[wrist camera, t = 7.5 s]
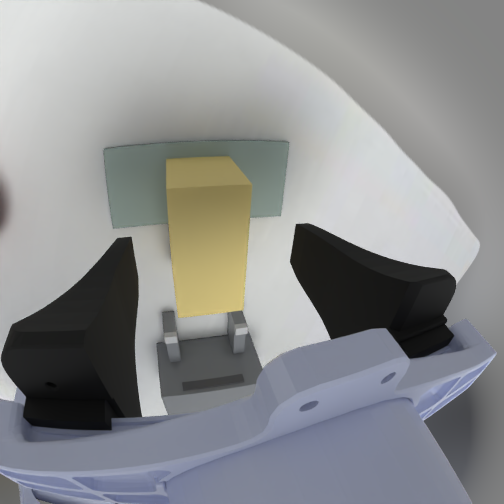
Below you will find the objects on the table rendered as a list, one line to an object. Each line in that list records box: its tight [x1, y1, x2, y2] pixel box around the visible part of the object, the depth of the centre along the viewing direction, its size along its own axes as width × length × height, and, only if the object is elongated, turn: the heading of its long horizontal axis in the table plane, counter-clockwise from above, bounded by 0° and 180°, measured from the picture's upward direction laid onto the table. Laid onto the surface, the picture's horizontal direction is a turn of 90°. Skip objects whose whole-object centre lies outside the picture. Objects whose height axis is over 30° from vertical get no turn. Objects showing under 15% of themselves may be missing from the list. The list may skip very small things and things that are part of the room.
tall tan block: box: [166, 156, 252, 318], centre depth 17 cm, size 4×8×6 cm, turn 175°
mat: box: [103, 140, 289, 229], centre depth 19 cm, size 12×6×1 cm, turn 85°
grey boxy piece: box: [157, 310, 263, 415], centre depth 25 cm, size 9×10×6 cm
